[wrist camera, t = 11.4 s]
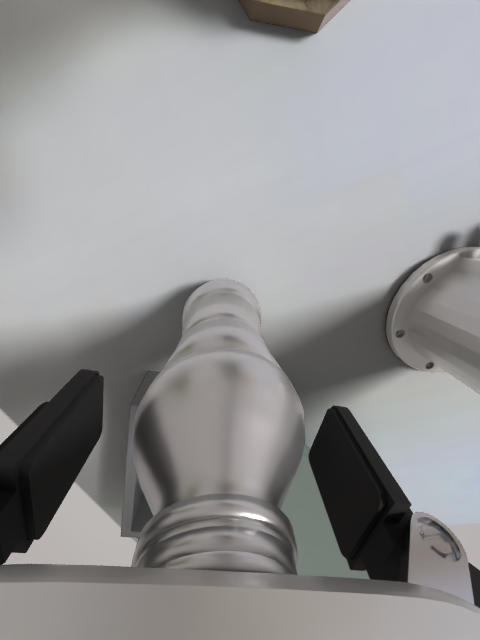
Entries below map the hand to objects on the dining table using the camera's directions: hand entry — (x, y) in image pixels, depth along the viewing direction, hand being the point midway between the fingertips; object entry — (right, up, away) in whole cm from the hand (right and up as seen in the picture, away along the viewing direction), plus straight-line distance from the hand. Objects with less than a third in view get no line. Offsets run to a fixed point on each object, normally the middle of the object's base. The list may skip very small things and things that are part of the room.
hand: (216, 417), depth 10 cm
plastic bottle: (-1, +5, +13) cm, 14 cm away
